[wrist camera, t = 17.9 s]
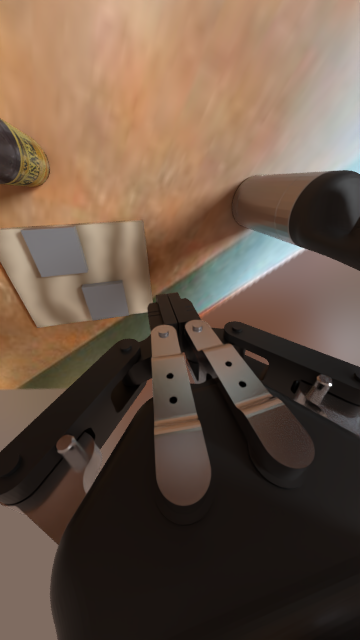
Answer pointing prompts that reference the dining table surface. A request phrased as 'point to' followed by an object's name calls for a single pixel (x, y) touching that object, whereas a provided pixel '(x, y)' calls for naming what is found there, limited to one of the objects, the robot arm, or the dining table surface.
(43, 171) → the sauce bottle
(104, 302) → the slate tile
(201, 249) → the dining table surface
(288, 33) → the dining table surface
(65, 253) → the slate tile
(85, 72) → the dining table surface
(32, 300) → the white flat sheet
